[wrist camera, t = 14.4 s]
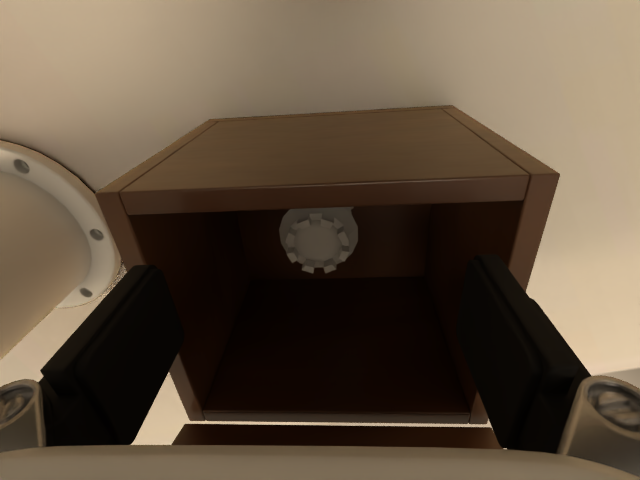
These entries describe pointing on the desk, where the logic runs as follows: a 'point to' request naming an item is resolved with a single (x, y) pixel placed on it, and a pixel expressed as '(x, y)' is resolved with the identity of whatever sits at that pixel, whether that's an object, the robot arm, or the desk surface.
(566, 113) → the desk surface
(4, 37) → the desk surface
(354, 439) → the lid
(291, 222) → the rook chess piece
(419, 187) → the chest
